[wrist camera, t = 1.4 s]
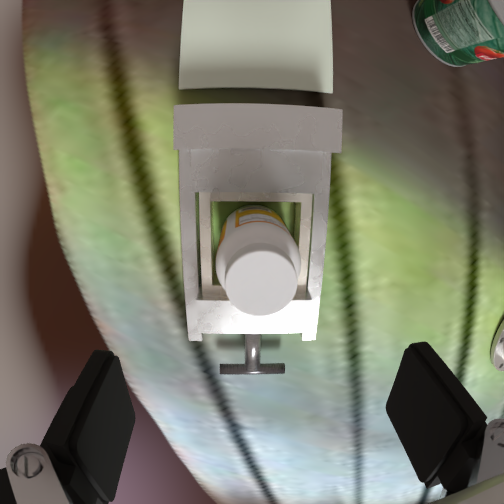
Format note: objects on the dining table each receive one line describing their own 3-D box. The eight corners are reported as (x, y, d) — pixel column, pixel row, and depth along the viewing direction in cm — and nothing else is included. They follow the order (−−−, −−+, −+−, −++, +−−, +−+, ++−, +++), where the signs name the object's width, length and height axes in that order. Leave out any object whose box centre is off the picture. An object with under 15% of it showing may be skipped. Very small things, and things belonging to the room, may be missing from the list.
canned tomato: (424, -17, 19) (486, -58, 8) (480, 32, 20) (551, 12, 10) (400, 31, 21) (472, -8, 10) (462, 83, 22) (544, 72, 12)
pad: (327, -26, 19) (328, -28, 19) (331, 93, 23) (332, 92, 22) (187, -31, 19) (187, -33, 18) (179, 89, 22) (178, 88, 22)
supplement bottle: (250, 278, 28) (256, 343, 18) (207, 233, 26) (190, 281, 17) (299, 238, 27) (329, 288, 17) (257, 189, 25) (267, 215, 16)
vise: (328, 115, 23) (346, 110, 19) (309, 360, 31) (318, 389, 26) (181, 112, 23) (169, 105, 19) (193, 361, 30) (187, 391, 26)
